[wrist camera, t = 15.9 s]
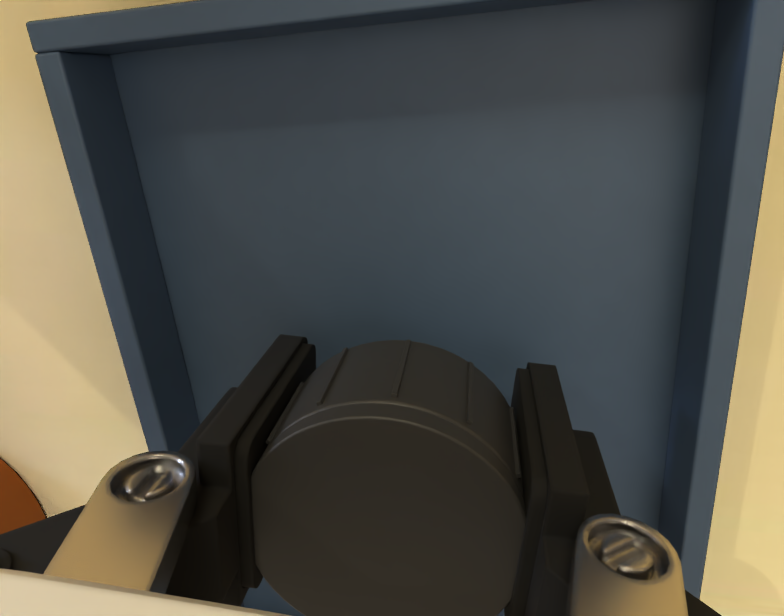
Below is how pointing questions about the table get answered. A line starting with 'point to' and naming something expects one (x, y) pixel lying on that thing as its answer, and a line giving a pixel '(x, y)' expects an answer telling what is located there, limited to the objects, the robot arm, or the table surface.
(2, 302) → the table surface
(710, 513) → the slate tray
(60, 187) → the table surface
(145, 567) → the robot arm
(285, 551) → the black cap
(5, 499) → the amber bottle
